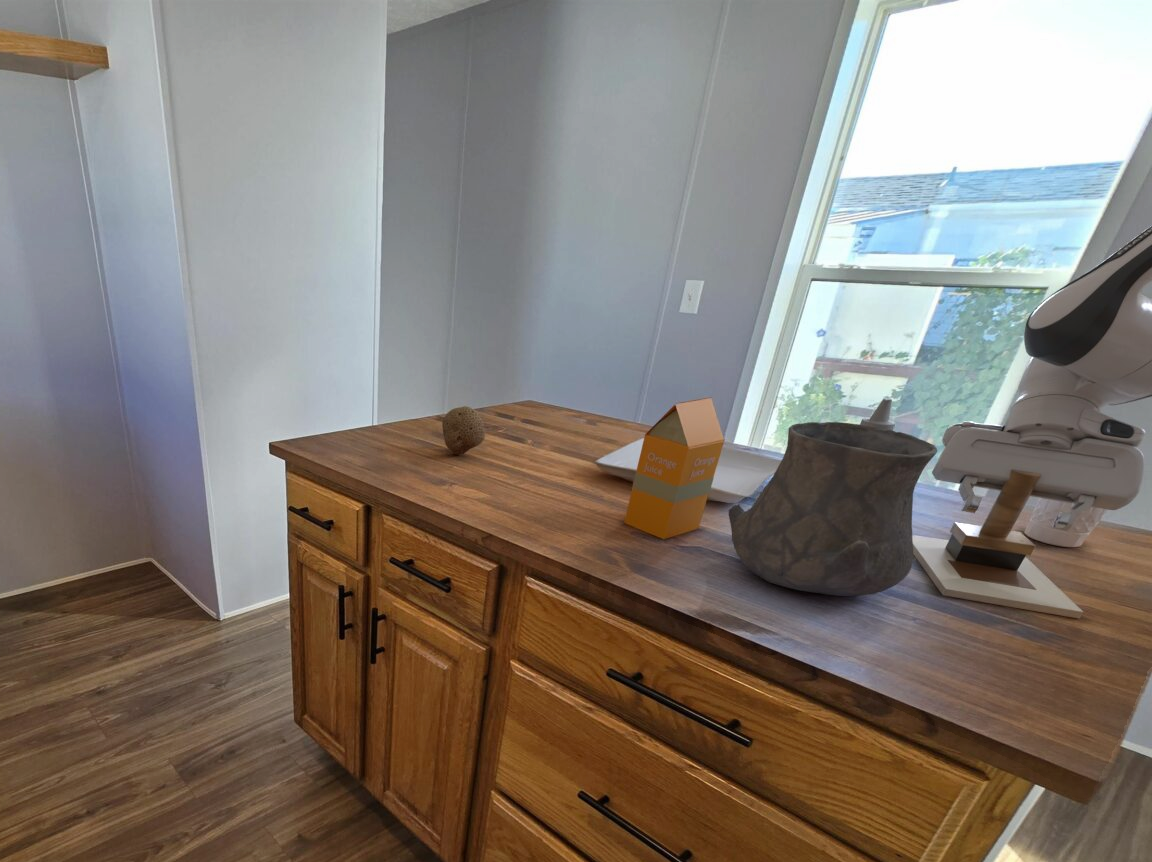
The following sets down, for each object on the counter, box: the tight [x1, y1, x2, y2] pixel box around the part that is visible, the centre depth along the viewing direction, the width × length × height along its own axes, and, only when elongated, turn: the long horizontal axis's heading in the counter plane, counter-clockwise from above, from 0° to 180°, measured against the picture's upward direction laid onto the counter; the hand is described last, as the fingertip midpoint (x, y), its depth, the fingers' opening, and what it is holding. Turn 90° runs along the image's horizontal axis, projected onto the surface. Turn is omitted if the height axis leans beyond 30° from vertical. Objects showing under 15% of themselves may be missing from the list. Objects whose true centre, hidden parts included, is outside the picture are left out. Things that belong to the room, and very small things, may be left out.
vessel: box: [727, 421, 938, 597], centre depth 86 cm, size 22×22×20 cm
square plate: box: [593, 437, 782, 504], centre depth 126 cm, size 27×27×4 cm
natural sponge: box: [441, 405, 487, 456], centre depth 136 cm, size 9×9×10 cm
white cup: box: [1023, 498, 1108, 548], centre depth 101 cm, size 8×8×10 cm
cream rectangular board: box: [912, 534, 1084, 619], centre depth 92 cm, size 14×20×1 cm
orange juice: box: [623, 396, 726, 540], centre depth 101 cm, size 8×9×20 cm
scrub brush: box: [945, 469, 1041, 571], centre depth 91 cm, size 8×6×13 cm
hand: (1014, 518), depth 88 cm, fingers open, 8 cm apart
